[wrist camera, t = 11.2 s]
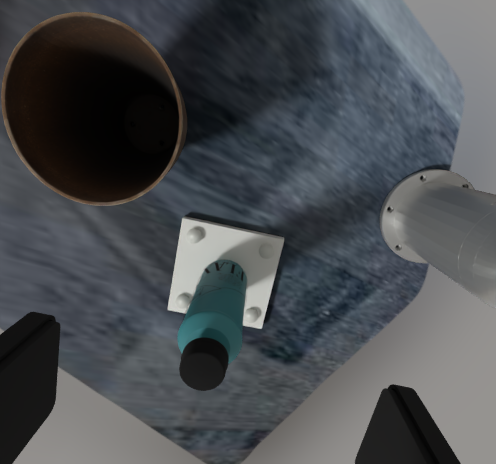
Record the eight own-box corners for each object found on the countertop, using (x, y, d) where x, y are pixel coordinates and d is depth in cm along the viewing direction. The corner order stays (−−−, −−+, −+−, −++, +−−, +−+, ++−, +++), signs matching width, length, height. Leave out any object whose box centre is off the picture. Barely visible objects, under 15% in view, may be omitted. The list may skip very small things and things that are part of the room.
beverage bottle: (254, 260, 46) (251, 349, 26) (241, 302, 47) (229, 414, 28) (208, 248, 45) (171, 328, 26) (197, 290, 47) (155, 395, 28)
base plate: (283, 237, 46) (284, 241, 44) (261, 324, 50) (261, 331, 48) (184, 216, 45) (181, 219, 44) (169, 305, 49) (166, 311, 47)
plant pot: (72, 133, 43) (-32, 130, 28) (135, 32, 40) (57, -37, 24) (166, 205, 45) (118, 239, 30) (233, 114, 42) (219, 100, 26)
